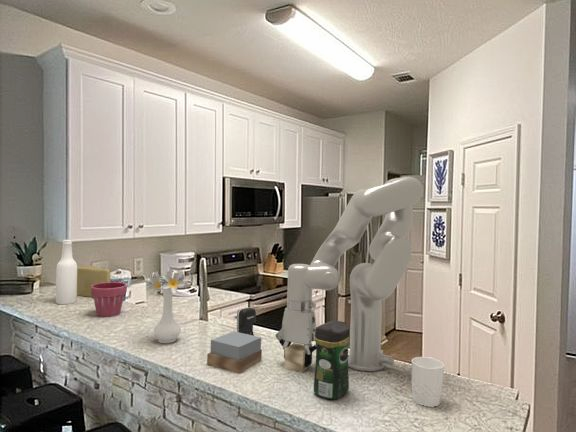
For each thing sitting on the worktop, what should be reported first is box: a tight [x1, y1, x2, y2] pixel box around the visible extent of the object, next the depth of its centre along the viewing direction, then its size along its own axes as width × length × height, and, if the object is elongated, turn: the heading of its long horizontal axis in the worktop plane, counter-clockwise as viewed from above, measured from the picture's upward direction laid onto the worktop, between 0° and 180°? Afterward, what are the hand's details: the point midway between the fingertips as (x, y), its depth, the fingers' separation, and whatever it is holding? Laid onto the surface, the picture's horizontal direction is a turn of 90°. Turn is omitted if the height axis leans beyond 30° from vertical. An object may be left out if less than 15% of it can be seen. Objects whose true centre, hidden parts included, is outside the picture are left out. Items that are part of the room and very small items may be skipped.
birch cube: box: [283, 342, 312, 373], centre depth 125 cm, size 6×6×6 cm
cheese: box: [77, 265, 111, 299], centre depth 209 cm, size 22×10×15 cm, turn 57°
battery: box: [236, 306, 257, 336], centre depth 149 cm, size 7×4×11 cm, turn 139°
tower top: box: [210, 330, 262, 361], centre depth 127 cm, size 11×11×4 cm
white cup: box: [411, 356, 445, 407], centre depth 105 cm, size 8×8×10 cm
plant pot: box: [91, 281, 128, 318], centre depth 177 cm, size 14×14×13 cm
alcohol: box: [55, 239, 78, 306], centre depth 195 cm, size 9×9×30 cm
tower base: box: [206, 348, 263, 374], centre depth 127 cm, size 12×12×4 cm
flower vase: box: [144, 270, 190, 344], centre depth 145 cm, size 13×18×25 cm
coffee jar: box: [313, 319, 350, 400], centre depth 108 cm, size 10×8×19 cm
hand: (297, 363), depth 125 cm, fingers closed on birch cube, 6 cm apart
